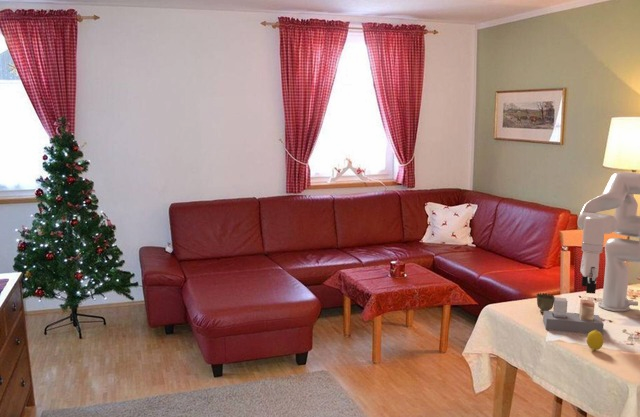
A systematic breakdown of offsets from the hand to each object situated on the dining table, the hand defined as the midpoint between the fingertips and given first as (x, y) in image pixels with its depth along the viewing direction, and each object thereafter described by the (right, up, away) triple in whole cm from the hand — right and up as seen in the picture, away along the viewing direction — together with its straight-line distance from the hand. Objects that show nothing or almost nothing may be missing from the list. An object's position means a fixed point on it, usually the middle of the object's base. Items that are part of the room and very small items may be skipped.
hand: (588, 289), depth 232 cm
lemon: (-5, -20, -17) cm, 27 cm away
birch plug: (0, -16, +3) cm, 17 cm away
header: (-5, -17, +5) cm, 18 cm away
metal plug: (-9, -16, +6) cm, 19 cm away
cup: (-9, -14, +23) cm, 28 cm away
